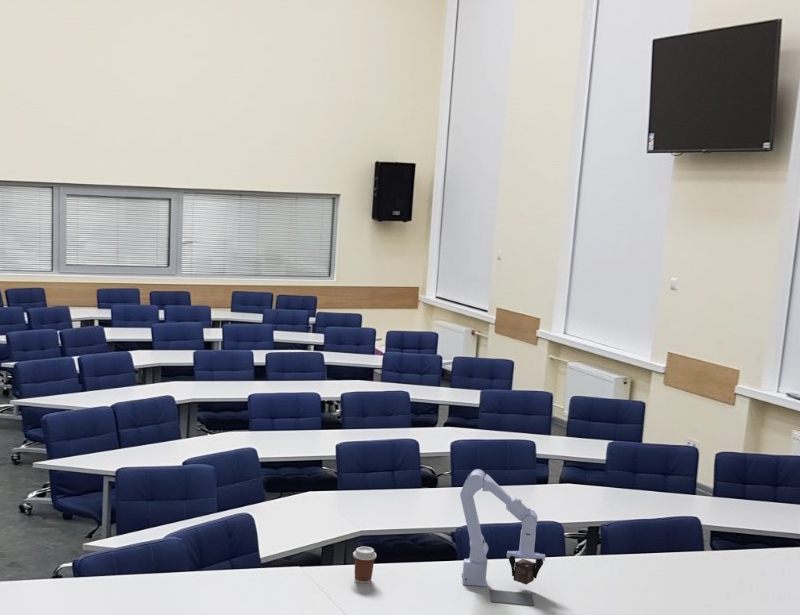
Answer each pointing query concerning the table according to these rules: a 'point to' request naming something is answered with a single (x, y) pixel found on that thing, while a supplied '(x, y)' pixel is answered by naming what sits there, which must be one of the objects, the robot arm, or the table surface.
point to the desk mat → (511, 597)
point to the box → (524, 571)
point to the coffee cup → (364, 564)
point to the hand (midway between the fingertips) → (523, 576)
